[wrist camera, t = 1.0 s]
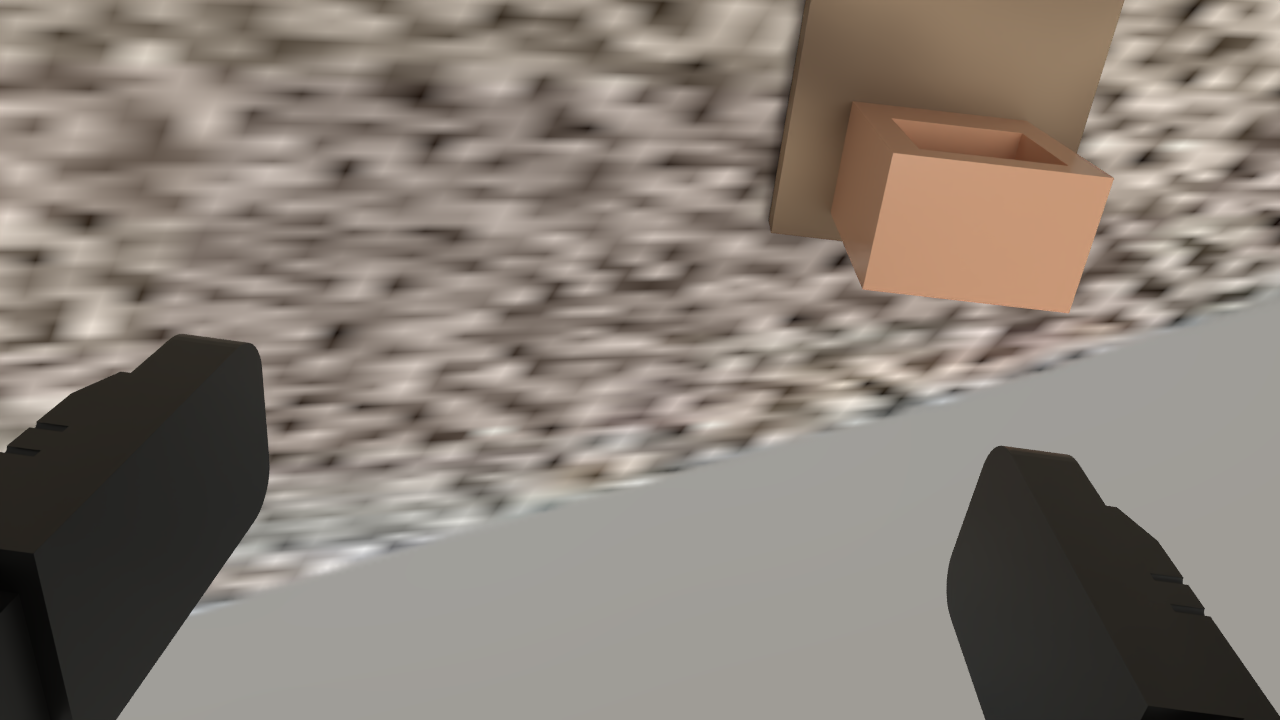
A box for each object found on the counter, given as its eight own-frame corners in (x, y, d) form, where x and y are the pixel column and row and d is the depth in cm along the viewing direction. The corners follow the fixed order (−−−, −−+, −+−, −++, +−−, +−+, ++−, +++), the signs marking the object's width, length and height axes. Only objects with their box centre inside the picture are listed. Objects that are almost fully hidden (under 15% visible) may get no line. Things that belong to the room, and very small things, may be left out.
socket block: (852, 101, 32) (893, 153, 25) (1026, 120, 32) (1114, 178, 25) (830, 213, 34) (862, 289, 27) (995, 231, 33) (1069, 313, 27)
